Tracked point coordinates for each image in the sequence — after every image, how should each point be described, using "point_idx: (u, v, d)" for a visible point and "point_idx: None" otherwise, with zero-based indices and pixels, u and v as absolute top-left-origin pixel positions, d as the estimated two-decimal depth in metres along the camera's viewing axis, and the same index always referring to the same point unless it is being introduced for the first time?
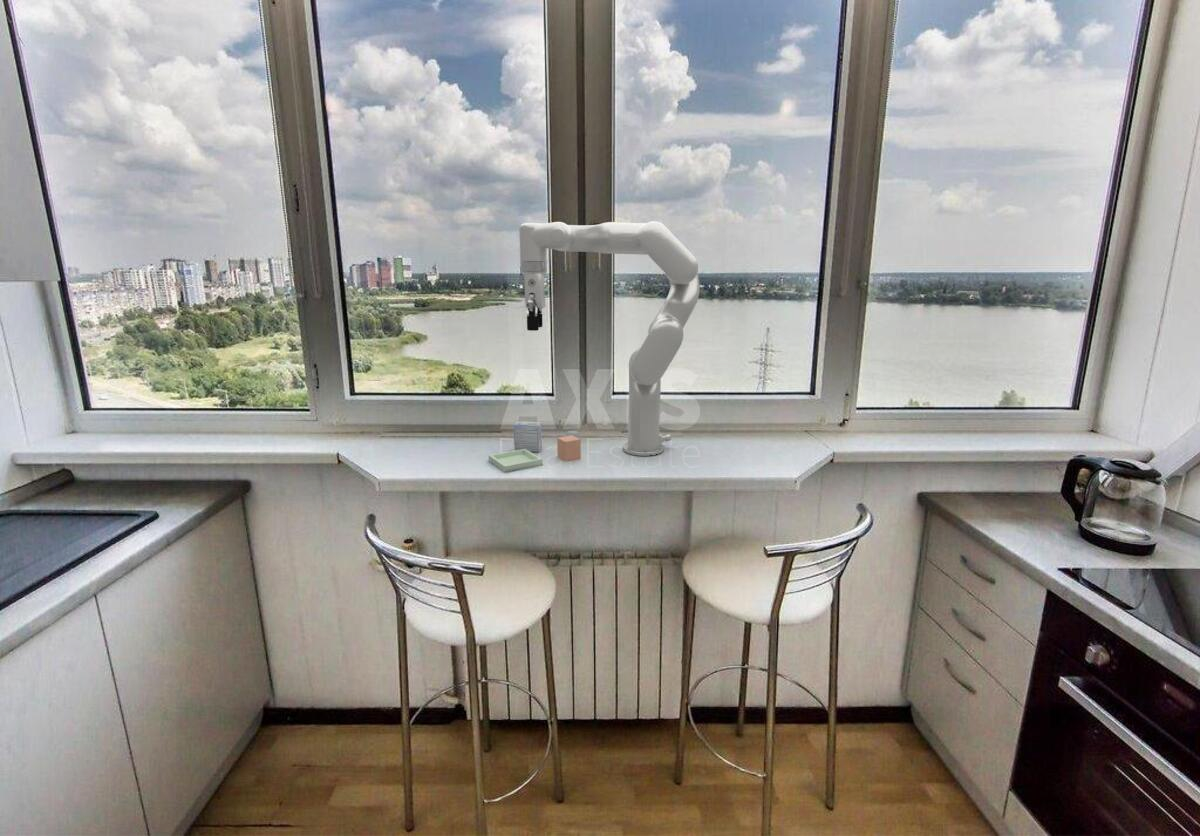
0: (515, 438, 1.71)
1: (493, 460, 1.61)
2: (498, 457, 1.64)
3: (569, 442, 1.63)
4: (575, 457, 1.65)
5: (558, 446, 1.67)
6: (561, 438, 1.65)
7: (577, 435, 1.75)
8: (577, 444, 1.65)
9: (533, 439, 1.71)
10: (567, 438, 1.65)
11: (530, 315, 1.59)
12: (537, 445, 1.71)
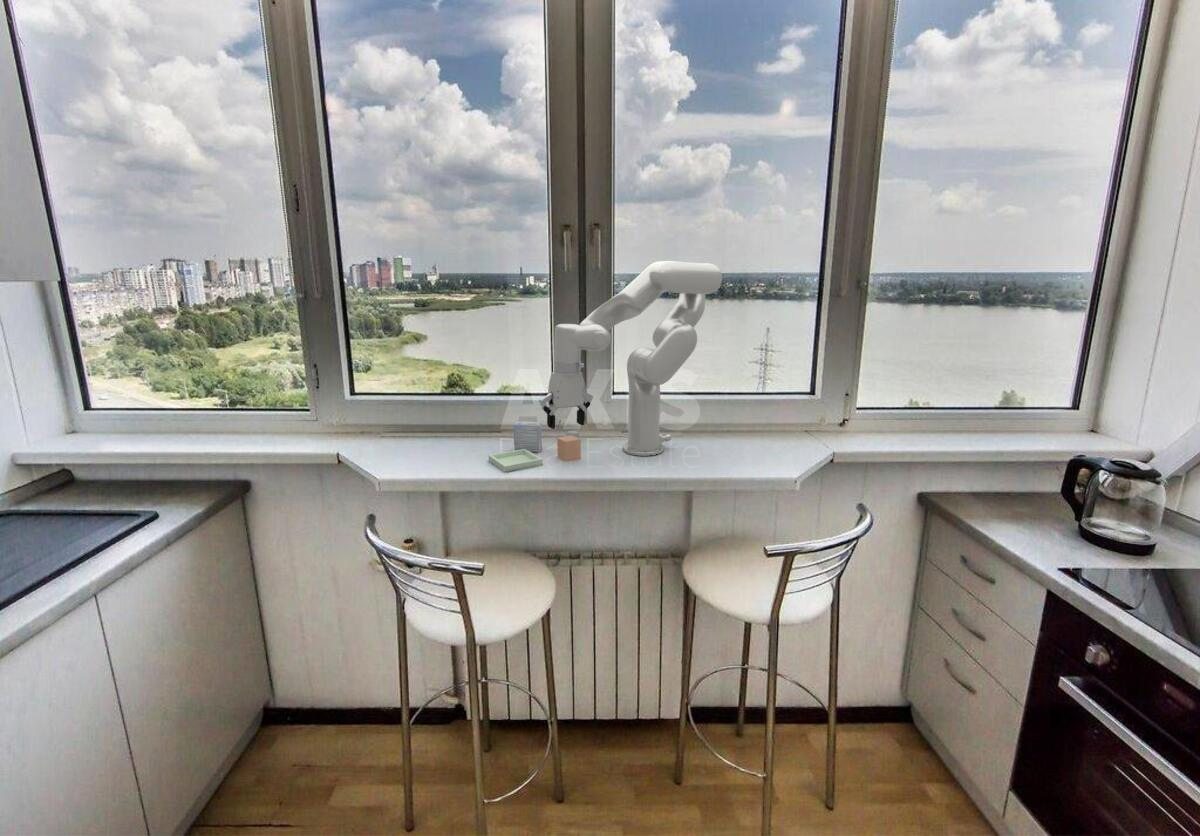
0: (515, 438, 1.71)
1: (493, 460, 1.61)
2: (498, 457, 1.64)
3: (569, 442, 1.63)
4: (575, 457, 1.65)
5: (558, 446, 1.67)
6: (561, 438, 1.65)
7: (577, 435, 1.75)
8: (577, 444, 1.65)
9: (533, 439, 1.71)
10: (567, 438, 1.65)
11: None
12: (537, 445, 1.71)
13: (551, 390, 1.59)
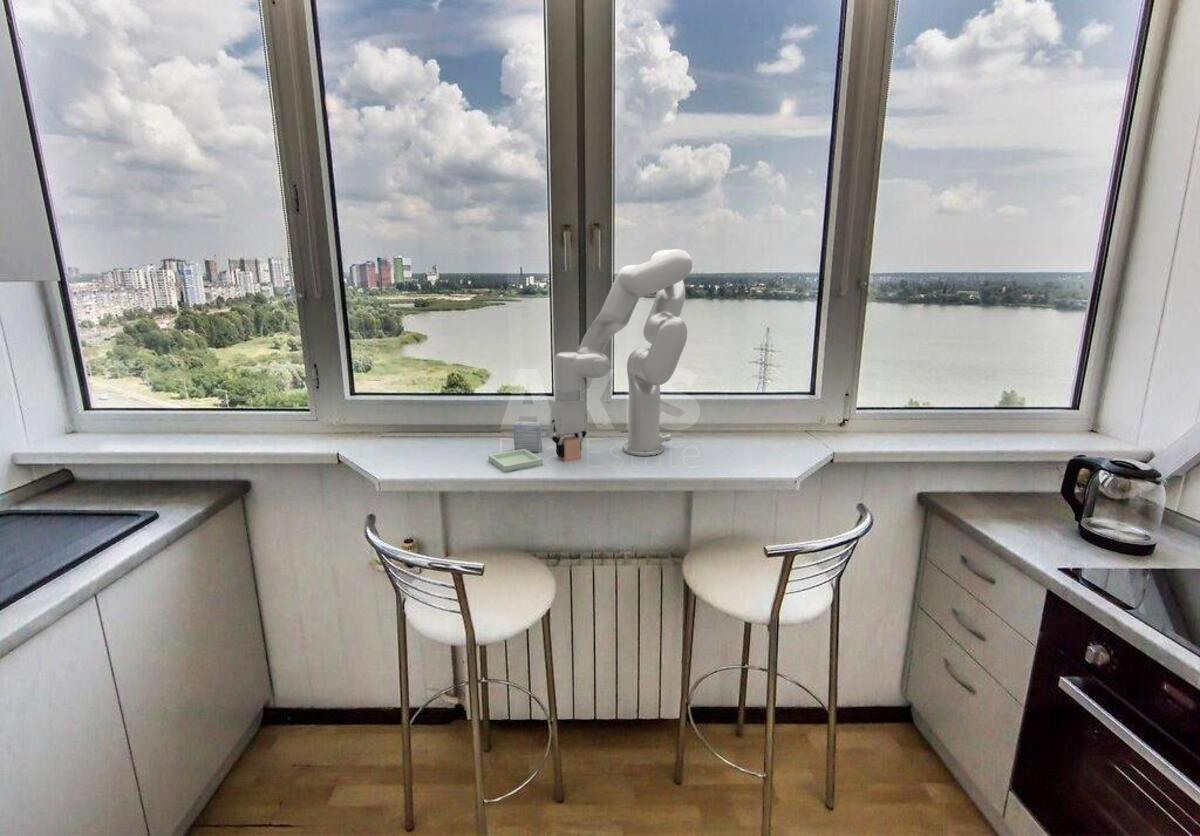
0: (515, 438, 1.71)
1: (493, 460, 1.61)
2: (498, 457, 1.64)
3: (569, 442, 1.63)
4: (575, 457, 1.65)
5: None
6: None
7: None
8: (577, 444, 1.65)
9: (533, 439, 1.71)
10: (567, 438, 1.65)
11: None
12: (537, 445, 1.71)
13: (553, 418, 1.62)
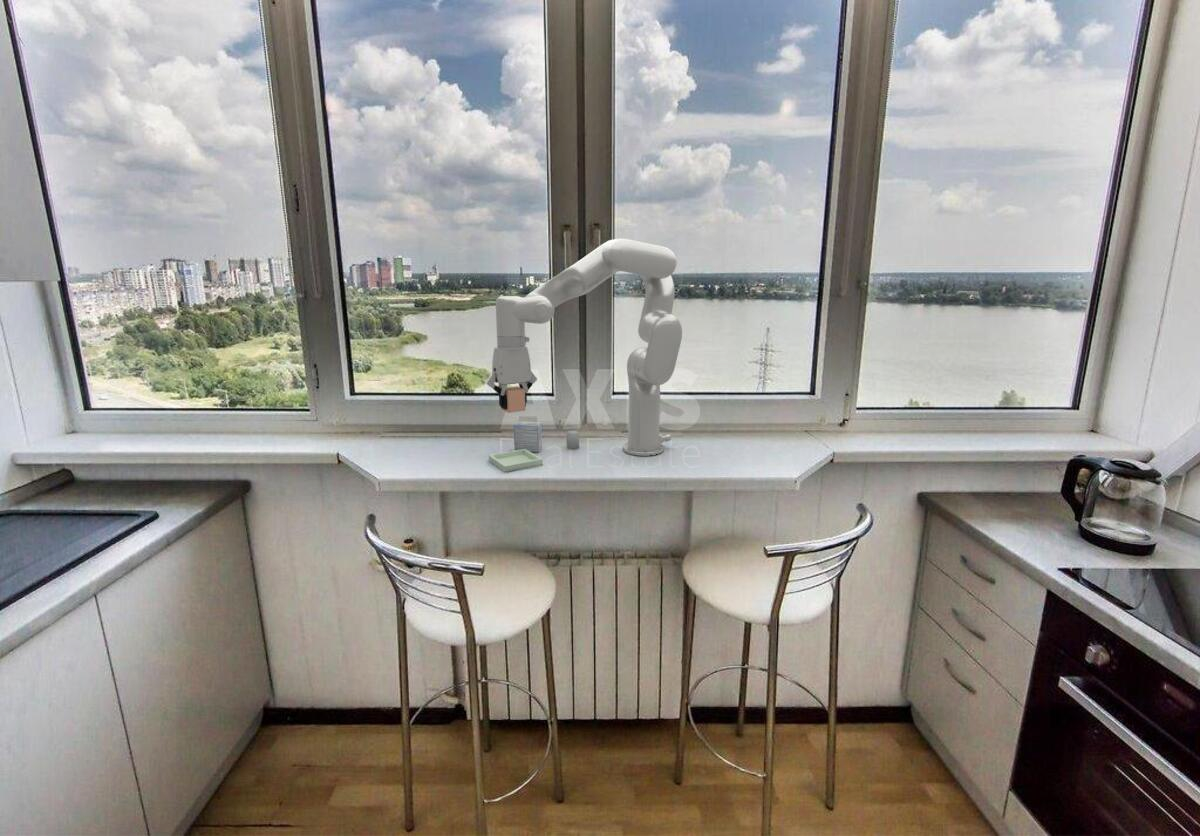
0: (515, 438, 1.71)
1: (493, 460, 1.61)
2: (498, 457, 1.64)
3: (512, 392, 1.54)
4: (519, 409, 1.56)
5: None
6: None
7: (577, 435, 1.75)
8: (521, 395, 1.56)
9: (533, 439, 1.71)
10: (510, 389, 1.56)
11: None
12: (537, 445, 1.71)
13: (494, 366, 1.53)
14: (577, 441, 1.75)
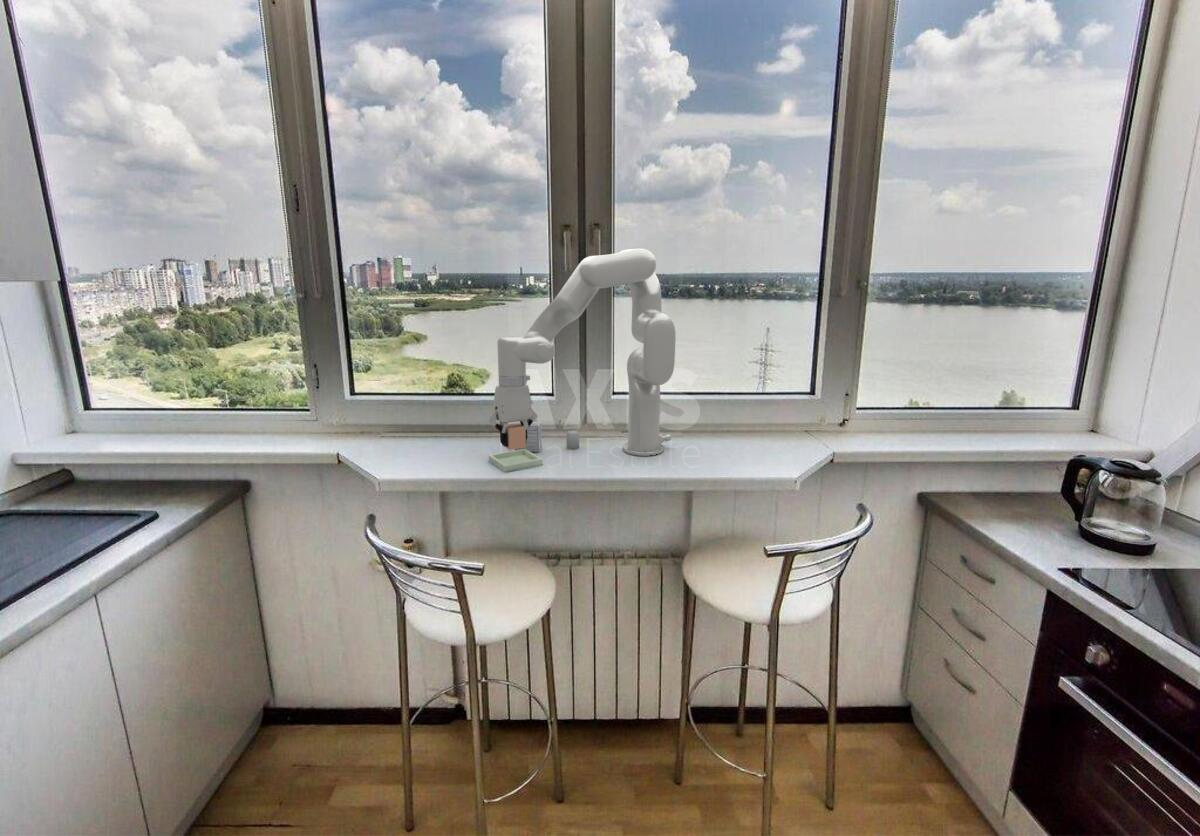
0: None
1: (493, 460, 1.61)
2: (498, 457, 1.64)
3: (513, 430, 1.57)
4: (520, 446, 1.59)
5: None
6: None
7: (577, 435, 1.75)
8: (522, 432, 1.59)
9: (533, 439, 1.71)
10: (511, 426, 1.59)
11: None
12: (537, 445, 1.71)
13: (495, 405, 1.55)
14: (577, 441, 1.75)
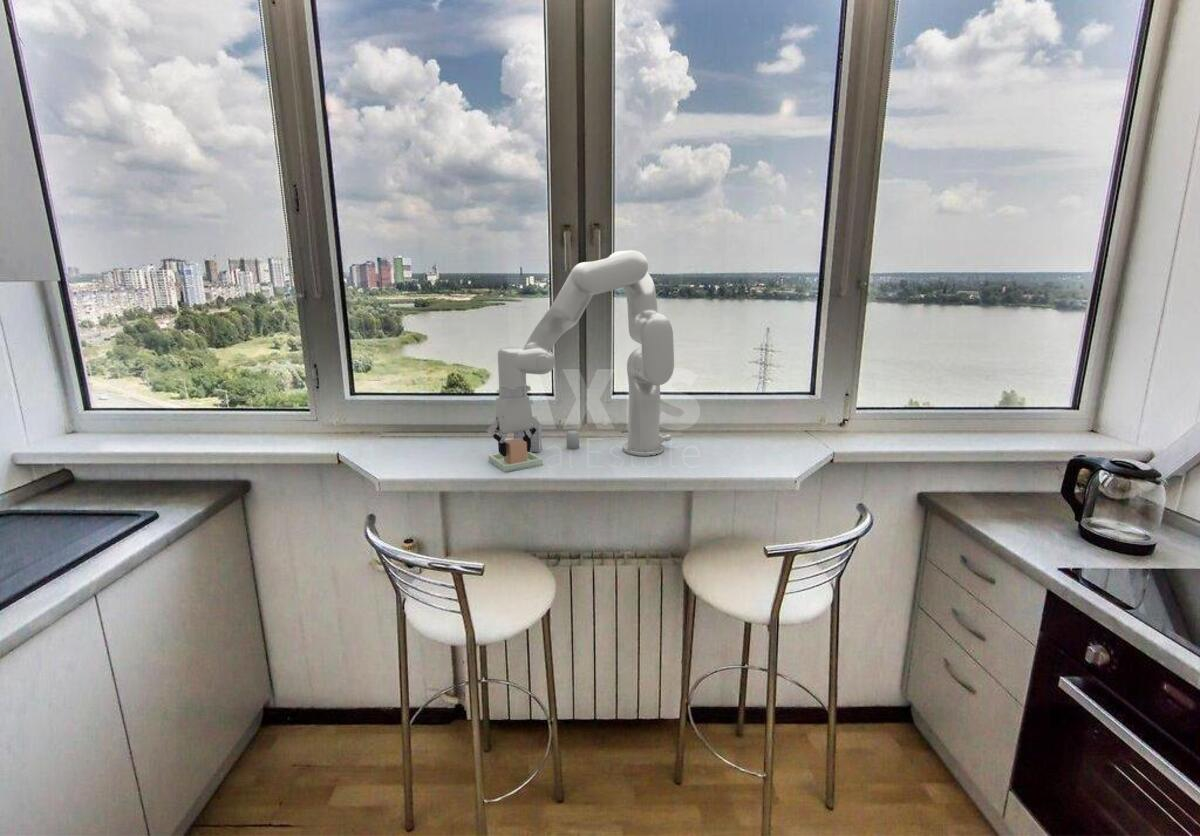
0: (515, 438, 1.71)
1: (493, 460, 1.61)
2: (498, 457, 1.64)
3: (514, 446, 1.58)
4: (521, 461, 1.60)
5: None
6: (506, 441, 1.60)
7: (577, 435, 1.75)
8: (523, 447, 1.60)
9: (533, 439, 1.71)
10: (513, 441, 1.60)
11: None
12: (537, 445, 1.71)
13: (496, 416, 1.56)
14: (577, 441, 1.75)
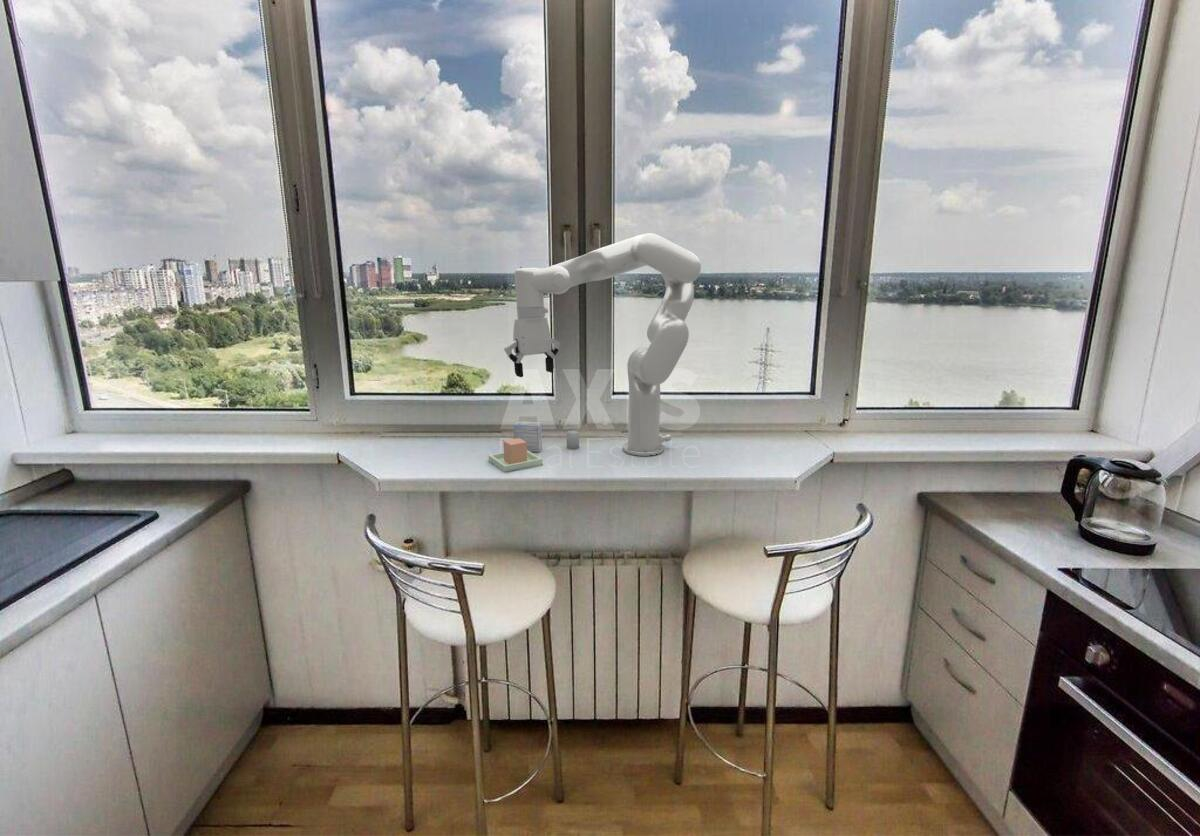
0: (515, 438, 1.71)
1: (493, 460, 1.61)
2: (498, 457, 1.64)
3: (514, 446, 1.58)
4: (521, 461, 1.60)
5: (504, 449, 1.61)
6: (506, 441, 1.60)
7: (577, 435, 1.75)
8: (523, 447, 1.60)
9: (533, 439, 1.71)
10: (513, 441, 1.60)
11: None
12: (537, 445, 1.71)
13: (515, 338, 1.56)
14: (577, 441, 1.75)
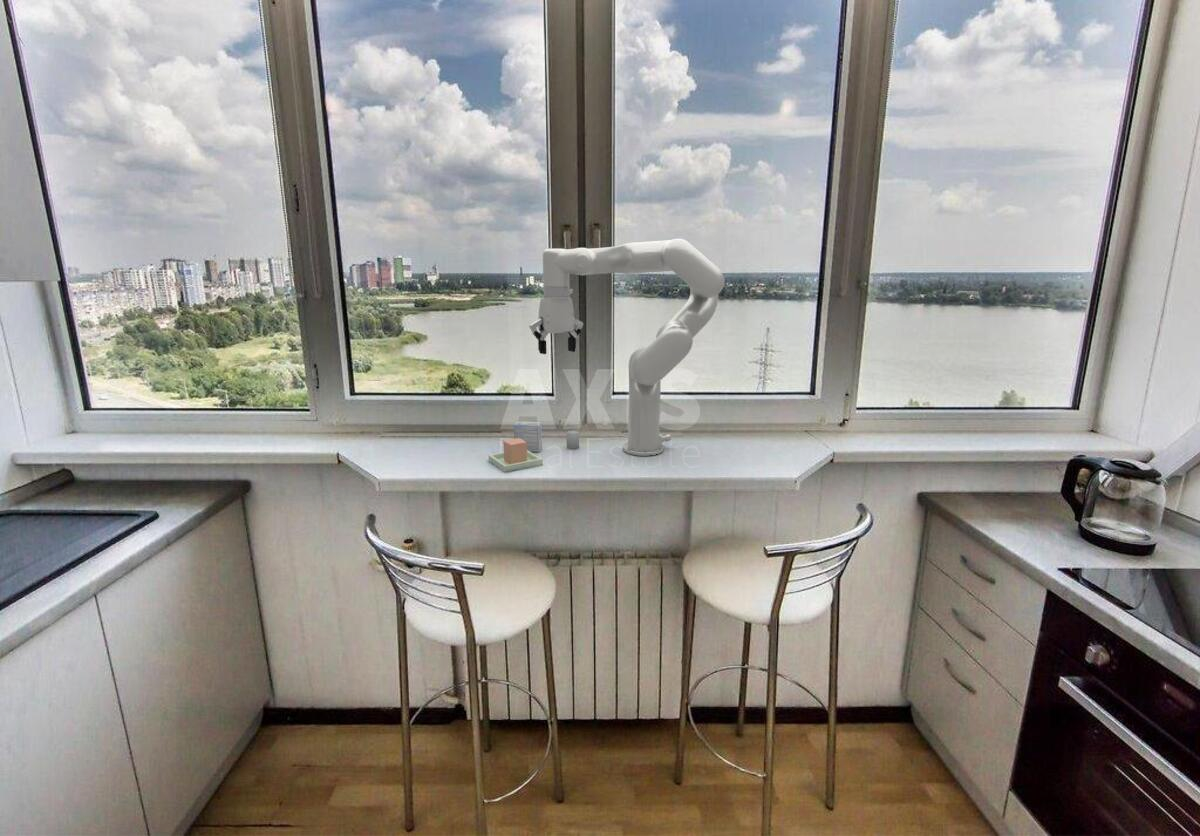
0: (515, 438, 1.71)
1: (493, 460, 1.61)
2: (498, 457, 1.64)
3: (514, 446, 1.58)
4: (521, 461, 1.60)
5: (504, 449, 1.61)
6: (506, 441, 1.60)
7: (577, 435, 1.75)
8: (523, 447, 1.60)
9: (533, 439, 1.71)
10: (513, 441, 1.60)
11: None
12: (537, 445, 1.71)
13: (541, 316, 1.61)
14: (577, 441, 1.75)
